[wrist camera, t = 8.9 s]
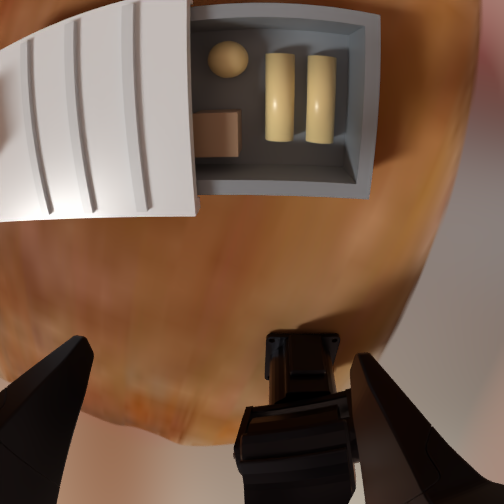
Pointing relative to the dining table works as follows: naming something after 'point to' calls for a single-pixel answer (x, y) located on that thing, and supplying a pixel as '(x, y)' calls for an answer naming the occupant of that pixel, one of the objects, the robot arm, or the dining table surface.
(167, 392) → the dining table surface
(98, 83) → the lid
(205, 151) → the tub
